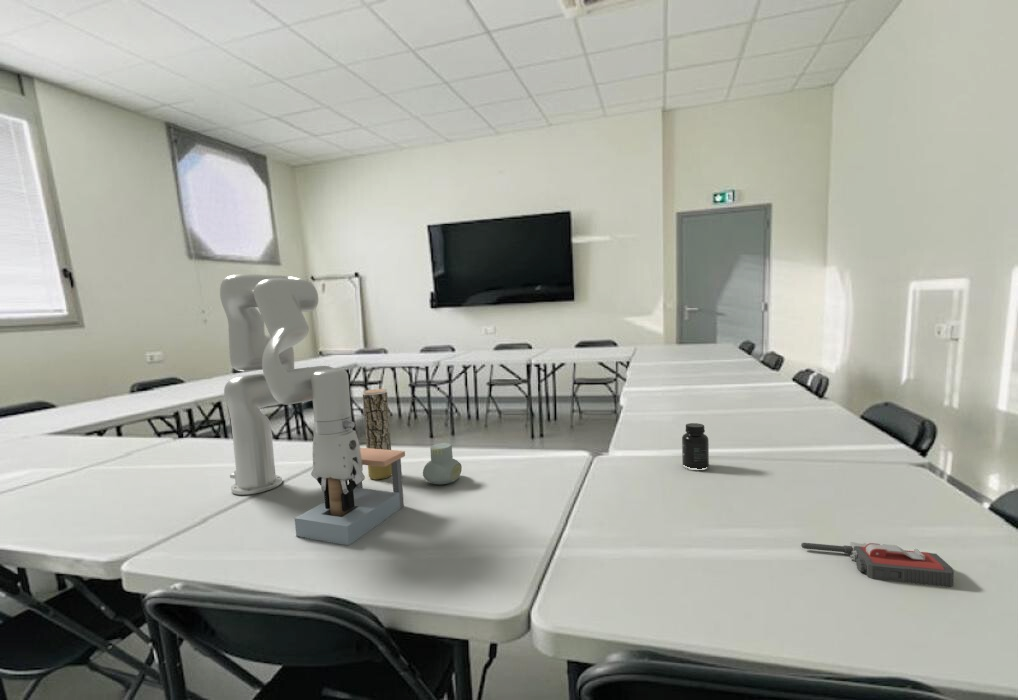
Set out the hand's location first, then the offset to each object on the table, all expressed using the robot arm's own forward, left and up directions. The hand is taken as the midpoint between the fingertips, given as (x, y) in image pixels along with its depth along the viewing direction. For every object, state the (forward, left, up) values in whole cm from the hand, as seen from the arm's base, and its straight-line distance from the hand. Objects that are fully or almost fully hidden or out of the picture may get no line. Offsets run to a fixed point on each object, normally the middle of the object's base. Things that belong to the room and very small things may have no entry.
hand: (340, 506), depth 102 cm
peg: (0, 0, -4) cm, 4 cm away
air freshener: (+8, +31, -5) cm, 32 cm away
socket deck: (0, +3, -5) cm, 6 cm away
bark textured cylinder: (-12, +30, -5) cm, 33 cm away
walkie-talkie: (+101, +14, -5) cm, 102 cm away
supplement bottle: (+73, +58, -5) cm, 93 cm away
